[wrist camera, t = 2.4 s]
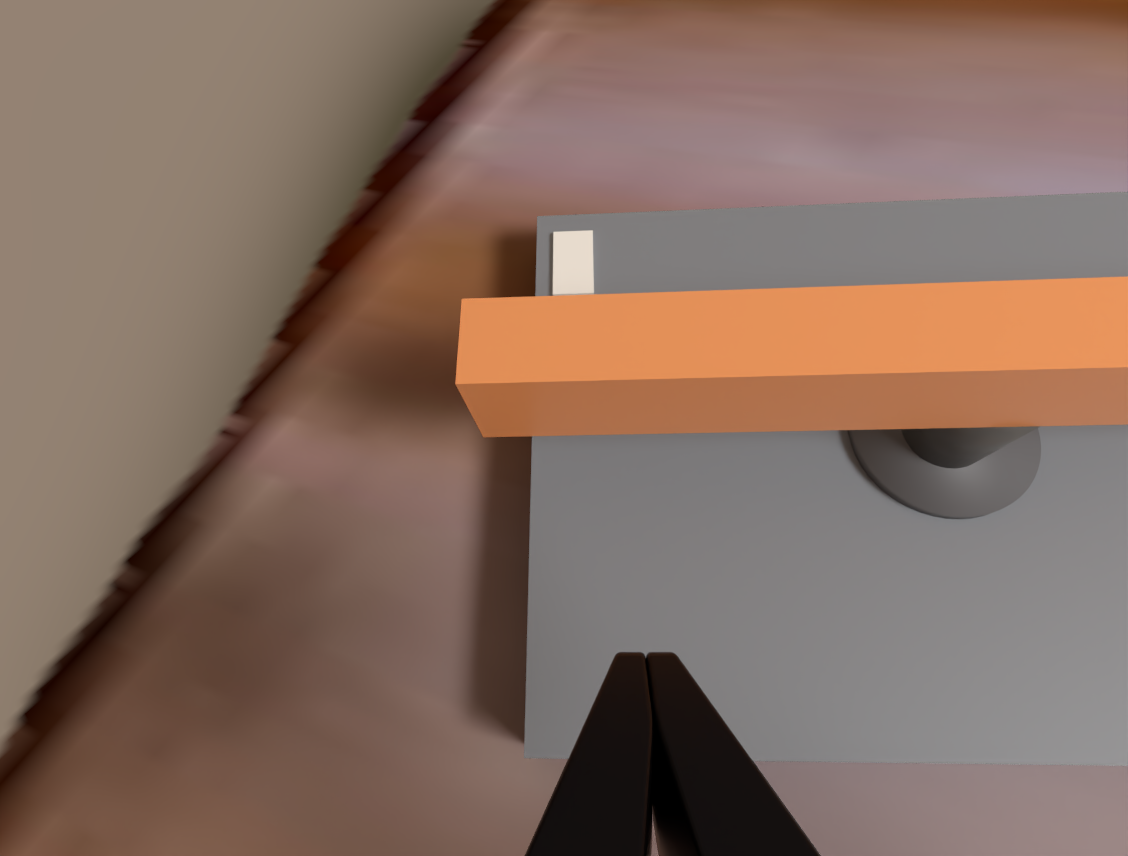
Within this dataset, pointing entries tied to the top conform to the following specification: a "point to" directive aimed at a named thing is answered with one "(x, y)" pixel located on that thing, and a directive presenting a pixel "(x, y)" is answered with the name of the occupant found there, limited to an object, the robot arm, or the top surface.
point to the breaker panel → (839, 518)
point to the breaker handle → (804, 362)
